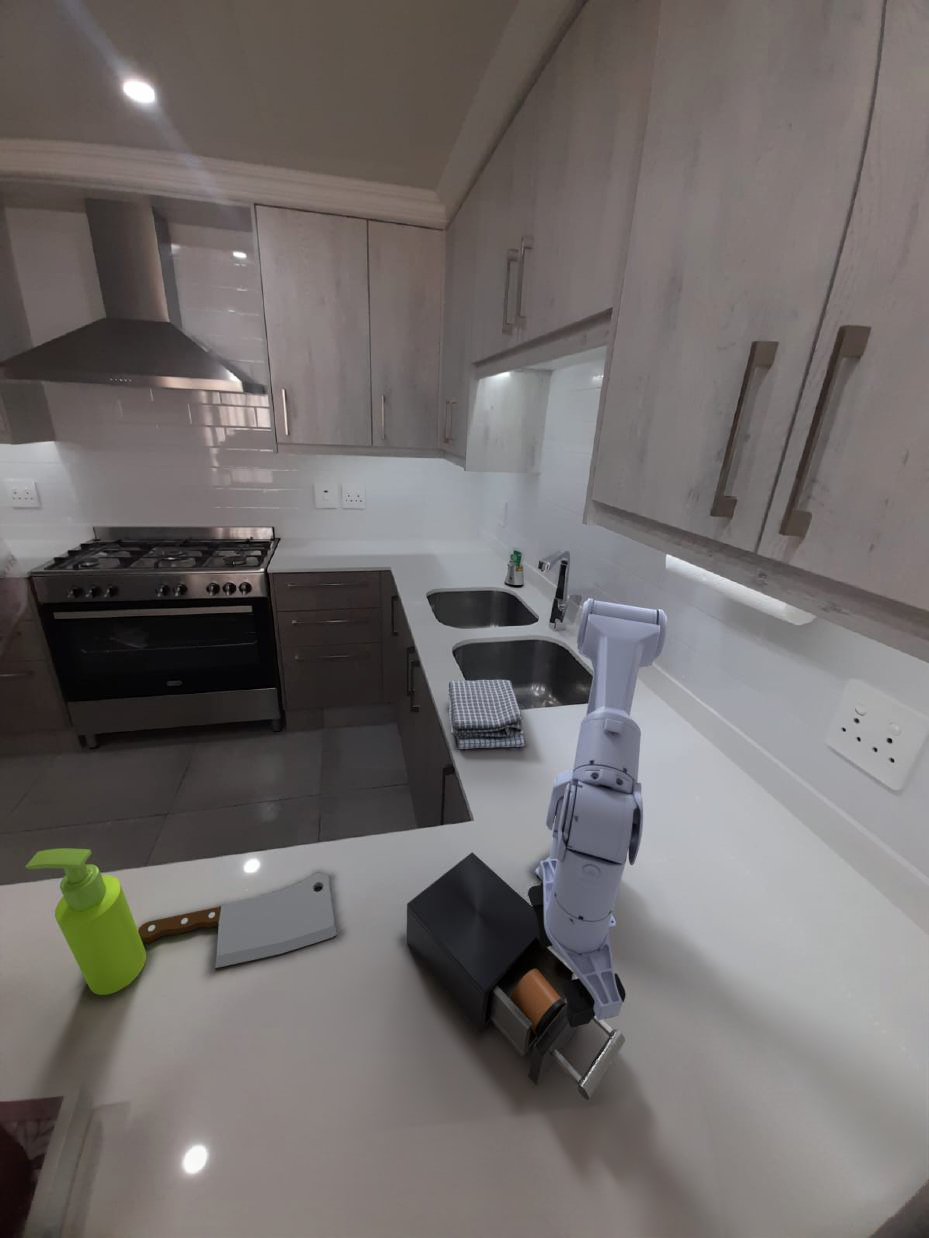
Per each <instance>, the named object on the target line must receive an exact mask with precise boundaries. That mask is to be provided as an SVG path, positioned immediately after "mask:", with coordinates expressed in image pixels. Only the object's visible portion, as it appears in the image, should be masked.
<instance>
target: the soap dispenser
mask: <svg viewBox="0 0 929 1238" xmlns="http://www.w3.org/2000/svg"><path fill="white" fill-rule="evenodd" d="M92 853H93V852H92V850H91V849H89V848H88V849H87V848H86V849H85V848H69V847H68V848H67V847H64V848H61V847H60V848H50V849H44V850H39V851H37V852H35V854H34V856H33V857H32V858H31V859H30V860H29V861H28V862H27V864H25V867H24V868H25V869H27V870H29V871H32V870H39V869H41V870H42V869H63V870H64V873H65V875H64V876H63V878H62V879H61V880H60V883H59V889H60V891H61V894H62V897H60V900H59V901H58V903H57V904H56V907H55V910H54V918H55V921H56V922H57V924H58V926H59V928H60V930H61V932H62V935H63V936H64V938H65V941H66V943H67V945H68V947H69V949H70V951H71V953H72V955H73V957H74V960H75V962H76V963H77V966H78V967H79V970H80V972H81V975H82V976H83V978H84V979H85V982H86V984H87V985H88V988H89V989H90V991H91V992H92V993H93V994H95V995H99V996H107V995H111V994H114V993H117V992H119V991H121V990H123V989H124V988H126V987H127V986H129V985H130V984H131V983H132V982H134V981H135V979H136V978H137V977H138V976H139V975H140V973H141V972H142V970H143V968H144V966H145V964H146V961H147V952H146V949H145V946H144V942H143V941H142V940H141V937H140V935H139V932H138V931H139V928H138V927H137V925H136V922H135V919H134V916H133V914H132V911H131V908H130V905H129V903H128V900H127V897H126V895H125V892H124V890H123V887H122V884H121V882H120V880H119V879H118V877H116V876H115V875H110V874H101V871H100V868H99V867H98V866H97V865H95V864H92V863H87V864H86V862H87V860H88V859H89V858H90V856H91V855H92Z"/></svg>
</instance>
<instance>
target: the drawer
mask: <svg viewBox="0 0 929 1238" xmlns="http://www.w3.org/2000/svg"><path fill="white" fill-rule="evenodd" d="M533 969H538V970H539V971H540V973H541V974H542V975H543V976H544V978H545V979H546V980H547V981H548V982H549V984H550V985H551V986H552V987H553V989H554V990H555V991H556V992H557V993H558V995H559V996H560V997H561V998H562V999H563V1000H564V1001H565V1002H566V1004H565V1005H564V1007H563V1008H562V1009H561V1011H560V1012H559V1013H558V1014H557V1016H556V1017H555V1018H554V1020H553V1021H552V1022H551V1024H550V1025H549V1026H548V1028H547V1029H546V1030H545V1031H544V1033H543V1034H542V1035H541V1037H540V1038H539V1039H538V1038H537V1036H536V1035H535V1033H534V1031H533V1030H532V1029H531V1027H532V1023H531V1022H530V1021H529V1020H528V1019H527V1018H526V1016H525V1015H524V1014H523V1013H522V1012H521V1011H520V1010H519V1009H518V1008H517V1007H516V1005H515V1004H514V1003H513V1002H512V1001H511V995H512V992H513V990H514V988H515V987H516V985H517V984H518V982H519V981H520V980H521V979H522V978H523V977H524V976H525V975H526V974H527V973H528V972H529V971H531V970H533ZM575 977H576V974H575V973H574V972H573V970H572V969H571V968H570V966H569V965H568V964H567V962H566V961H565V960H564V959H563V957H562V956H561V955H560V953H559V952H558V951H557V949H556V948H555V947H554V946H549V947H545V948H542V946H541V943H540V940H539V938H538V939H537V940H536V941H535V942H534V943H533V944H532V945H531V946H530V947H529V948H528V950H527V951H526V952H525V953H524V954H523V955H522V956H521V957H520V958H519V959H518V960H517V962H516V963H515V964H514V965H513V966H512V967H511V968H510V969H509V970H508V971H507V972H506V973H505V975H504V976H503V977H502V978H501V979H500V980H499V981H498V982H497V983H496V984H495V985H494V987H493V988H492V989H491V990H490V991H489V995H488V1003H487V1011H486V1015H487V1016H488V1017H489V1018H490V1019H491V1020H490V1021H492V1022H491V1023H493V1024H494V1025H495V1027H496V1028H497V1029H498V1030H499V1032H500V1033H501V1034H502V1035H503V1036H504V1037H505V1038H506V1040H507V1041H508V1042H509V1043H510V1045H512V1047H513V1048H514V1049H515V1050H516V1051H517V1053H518V1054H519V1055H520V1056H521V1057H522V1058H523V1057H524V1056H525V1055H526V1053H527V1052H528V1051H529V1050H530V1049H531V1047H532V1046H533V1048H532V1053H531V1058H530V1062H529V1067H528V1072H527V1077H528V1078H529V1079H530V1080H531V1081H532V1083H533V1084H534V1085H535V1086H538V1084H539V1083H540V1082H541V1081H542V1079H543V1078H544V1076H545V1074H546V1073H548V1071H549V1069H550V1068H551V1067H552V1065H553V1063H554V1062H556V1063H557V1064H558V1065H559V1066H560V1068H561V1069H562V1070H563V1071H564V1072H565V1073H566V1075H567V1076H569V1078H570V1079H571V1080H572V1081H573V1082H574V1083H575V1084H576V1085H577V1087H576V1088H577V1091H578V1092H579V1094H580V1095H581V1096H582V1097H583V1098H584V1099H585V1100H586V1101H589V1100H590V1099H591V1097H592V1096H593V1094H594V1093H595V1091H596V1089H597V1088H598V1086H599V1085H600V1083H601V1081H602V1080H603V1078H604V1077H605V1075H606V1073H607V1071H608V1070H609V1069H610V1067H611V1065H612V1064H613V1062H614V1060H615V1059H616V1057H617V1055H618V1054H619V1052H620V1051H621V1049H622V1048H623V1046H624V1044H625V1042H626V1038H625V1036H624V1034H623V1032H621V1031H620V1030H619V1029H618V1028H614V1029H613V1028H612V1027H611V1026H610V1025H609V1024H608V1023H607V1022H606V1021H605V1019H603V1020H598V1019H597V1017H596V1015H595V1016H594V1017H593V1019H592V1020H591V1021H593V1022H594V1023H595V1024H596V1025H597V1027H599V1028H600V1029H601V1031H603V1032H604V1033H605V1034H606V1035H607V1036H608V1037H607V1039H606V1040H605V1042H604V1044H603V1045H602V1047H601V1048H600V1050H599V1051H598V1052H597V1054H596V1055H595V1057H594V1059H593V1060H592V1062H591V1064H590V1065H589V1067H588V1068H587V1070H586V1071H585V1073H584V1074H583V1076H581V1075H580V1074H579V1072H578V1071H577V1070H575V1068H574V1067H573V1066H572V1065H571V1064H570V1063H569V1062H568V1061H567V1060H566V1058H565V1057H564V1056H563V1055H562V1054H561V1053H562V1051H563V1049H564V1048H565V1047H566V1045H567V1044H568V1043H569V1041H570V1040H571V1038H572V1037H573V1035H574V1034H575V1033H576V1032H577V1030H578V1028H579V1027H580V1026H577V1027H570V1024H569V1022H568V1018H567V1005H568V1003H567V1000H566V997H565V994H564V992H563V989H562V986H561V982H564V981H569V980H573V979H576V978H575ZM536 1040H537V1041H536ZM533 1044H534V1045H533Z"/></svg>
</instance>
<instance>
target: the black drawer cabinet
mask: <svg viewBox="0 0 929 1238" xmlns="http://www.w3.org/2000/svg"><path fill="white" fill-rule="evenodd" d="M538 938H539V934H538V926H537V919H536V914H535V911H534V909H533V907H532V905H531V903H529V902H528V901H527V900H526V899H524V898H523V897H522V896H521V895H520V893H518V892H517V891H516V890H515V889H513V887H512V886H510V885H509V884H508V883H507V882H506V881H505V880H503V878H502V877H500V876H499V875H498V874H497V873H496V872H495V871H494V870H493V869H491V867H489V866H488V864H486V863H485V862H484V861H483V860H481V858H479V857H478V856H477V854H475V853H474V852H473V851H472V852H471V853H469V854H468V855H466V857H464V858H463V859H461V860H460V861H459V862H458V863H456V864H455V865H454V866H453V867H452V868H450V869H449V870H448V871H446V872H445V873H443V874H442V875H441V876H440V877H439V878H438V879H436V880H435V881H434V882H432V883H431V884H430V885H429V886H427V887H426V888H425V889H424V890H422V891H421V892H420V893H418V894H417V895H416V896H415V897H414V898H412V899H411V900H410V901H408V902H407V903H406V944H407V945H408V946H409V947H410V948H411V950H412V951H413V952H414V953H415V955H417V957H418V958H419V960H420V961H421V962H422V963H423V964H424V965H425V967H426V968H427V969H428V970H429V972H430V973H431V974H432V975H433V977H434V978H435V979H436V981H438V983H439V984H440V986H442V987H443V989H444V990H445V991H446V993H448V995H449V996H450V998H451V999H452V1000H453V1001H454V1002H455V1004H456V1005H457V1006H458V1007H459V1008H460V1009H461V1011H462V1012H463V1013H464V1014H465V1016H466V1017H467V1019H468V1020H469V1021H470V1022H471V1023H472V1025H473V1026H474V1027H475V1028H476V1030H477V1031H478V1032H480V1033H481V1032H482V1030H483V1029H485V1027H486V1026H487V1025H488V1024H489V1023H490V1021H491V1019H490V1018H489V1017H488V1016H487V1015H486V1011H487V1003H488V995H489V991H490V990H491V989H492V988H493V987H494V985H495V984H496V983H497V982H498V981H499V980H500V979H501V978H502V977H503V976H504V975H505V973H506V972H507V971H508V970H509V969H510V968H511V967H512V966H513V965H514V964H515V963H516V962H517V960H518V959H519V958H520V957H521V956H522V955H523V954H524V953H525V952H526V951H527V950H528V948H529V947H530V946H531V945H532V944H533V943H534V942H535V941H536V940H537V939H538Z"/></svg>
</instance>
